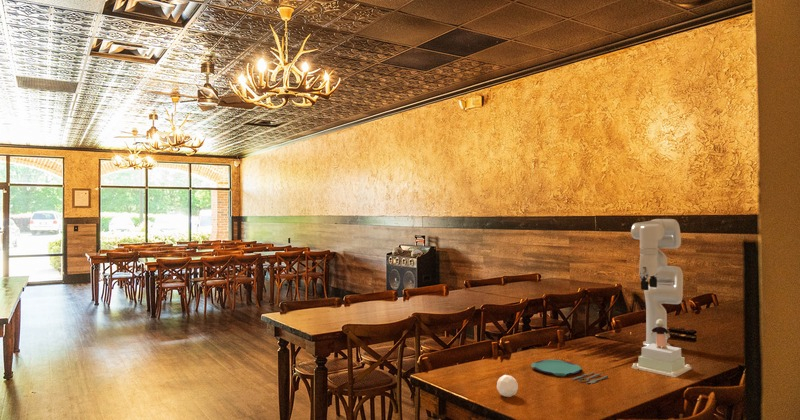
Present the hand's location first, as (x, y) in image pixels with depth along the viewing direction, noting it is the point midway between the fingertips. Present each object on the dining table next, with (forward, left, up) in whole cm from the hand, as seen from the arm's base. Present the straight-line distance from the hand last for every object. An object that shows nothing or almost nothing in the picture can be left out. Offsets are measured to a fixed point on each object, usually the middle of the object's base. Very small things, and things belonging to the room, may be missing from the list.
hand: (649, 288), depth 243 cm
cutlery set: (+47, -15, -34) cm, 60 cm away
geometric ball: (+90, -14, -33) cm, 97 cm away
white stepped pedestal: (+11, +10, -33) cm, 36 cm away
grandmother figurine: (+11, +9, -24) cm, 28 cm away
